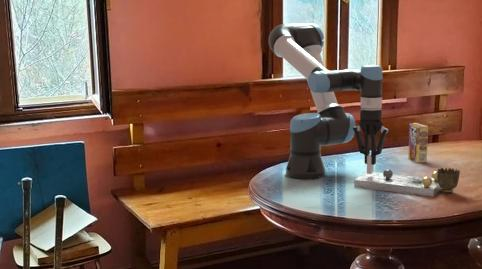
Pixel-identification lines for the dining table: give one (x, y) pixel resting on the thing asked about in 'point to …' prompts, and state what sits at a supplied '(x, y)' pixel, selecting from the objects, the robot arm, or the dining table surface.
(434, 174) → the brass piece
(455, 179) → the olive brown rounded bowl
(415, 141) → the candy box
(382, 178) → the plate
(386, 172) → the steel ball
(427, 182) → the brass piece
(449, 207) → the dining table surface
